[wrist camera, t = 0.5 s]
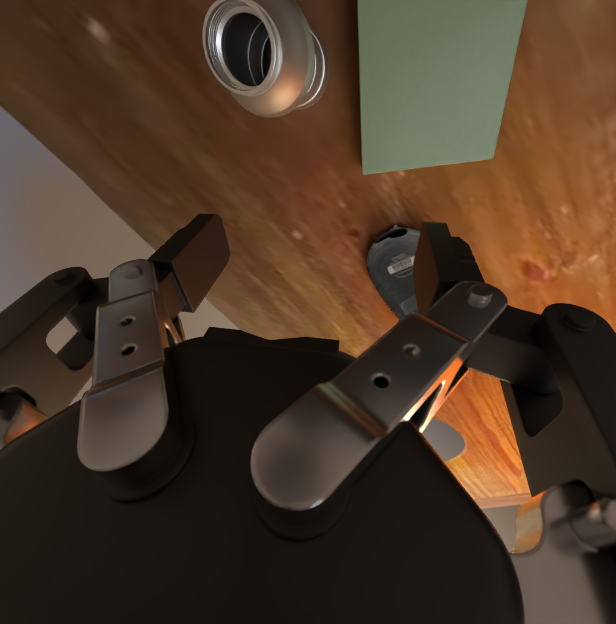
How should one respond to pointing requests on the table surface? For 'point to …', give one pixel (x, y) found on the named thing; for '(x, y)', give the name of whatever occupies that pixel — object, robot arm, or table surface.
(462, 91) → the riser
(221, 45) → the silver metal bottle
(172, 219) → the table surface
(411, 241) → the dark grey hollow sleeve
